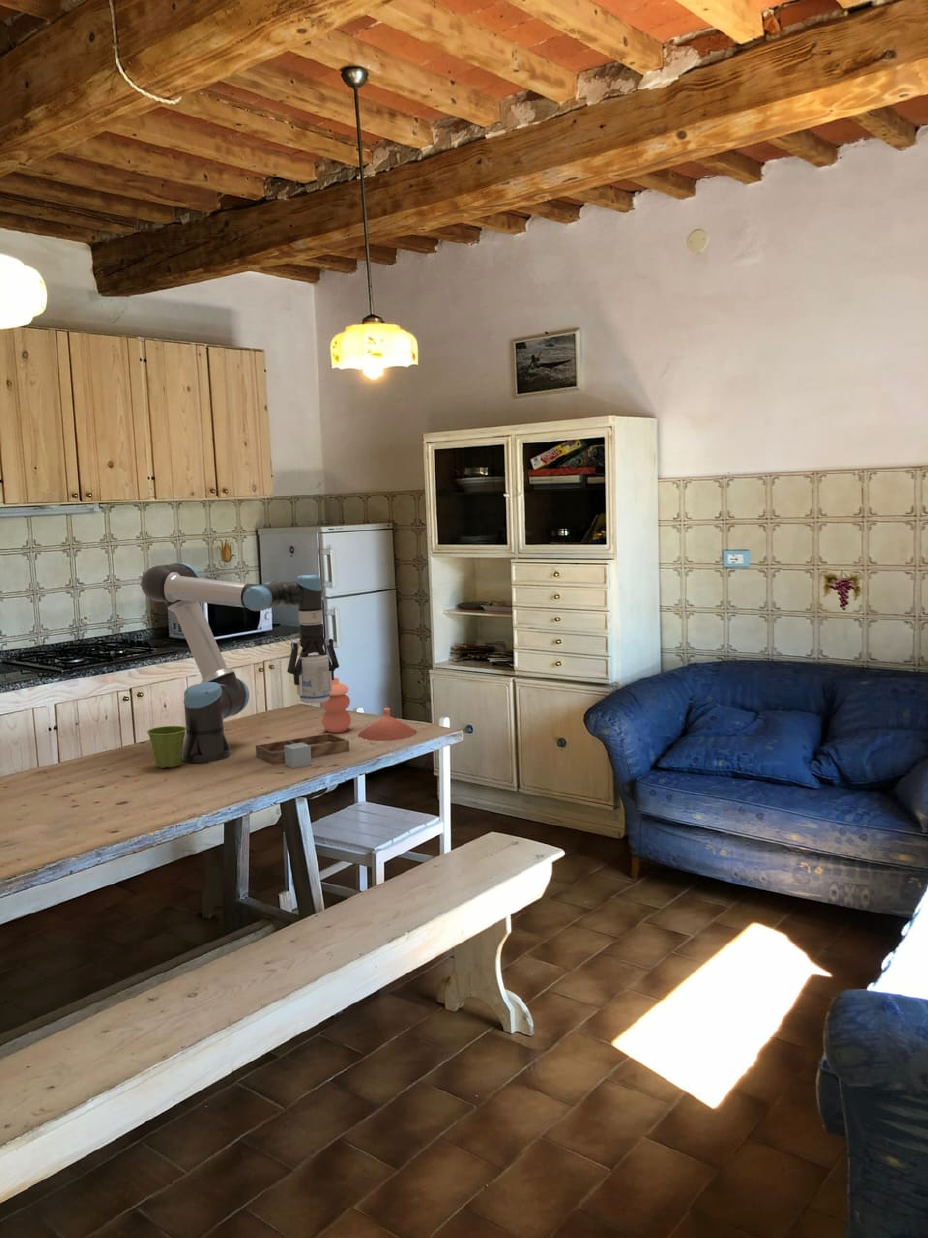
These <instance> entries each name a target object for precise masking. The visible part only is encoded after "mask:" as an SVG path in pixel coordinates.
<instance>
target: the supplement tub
mask: <svg viewBox="0 0 928 1238" xmlns="http://www.w3.org/2000/svg"><path fill="white" fill-rule="evenodd" d="M298 659H300V660H301V659H302V669H301V671H300V673H299V674H300V675H302V689H303V695H302V696H300V695H299V700H300V702H302V703H305V704H319V703H320V704H321V702H325V701H328V700H329V699H330V689H329V661H328V659H329V654H326V655H319V653H309V654H308V656H307V657H304V658H302V657H300V655H299V656H298Z"/></svg>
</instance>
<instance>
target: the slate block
mask: <svg viewBox="0 0 928 1238" xmlns="http://www.w3.org/2000/svg"><path fill="white" fill-rule="evenodd" d="M284 750H285V762H284V763H285V766H288V767H290V768H292V769H297V768H303V767H308V766H312V757H311V747H310V745H307V744H305V743H303V742H302V743H296V744H290V745H285V746H284Z"/></svg>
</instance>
